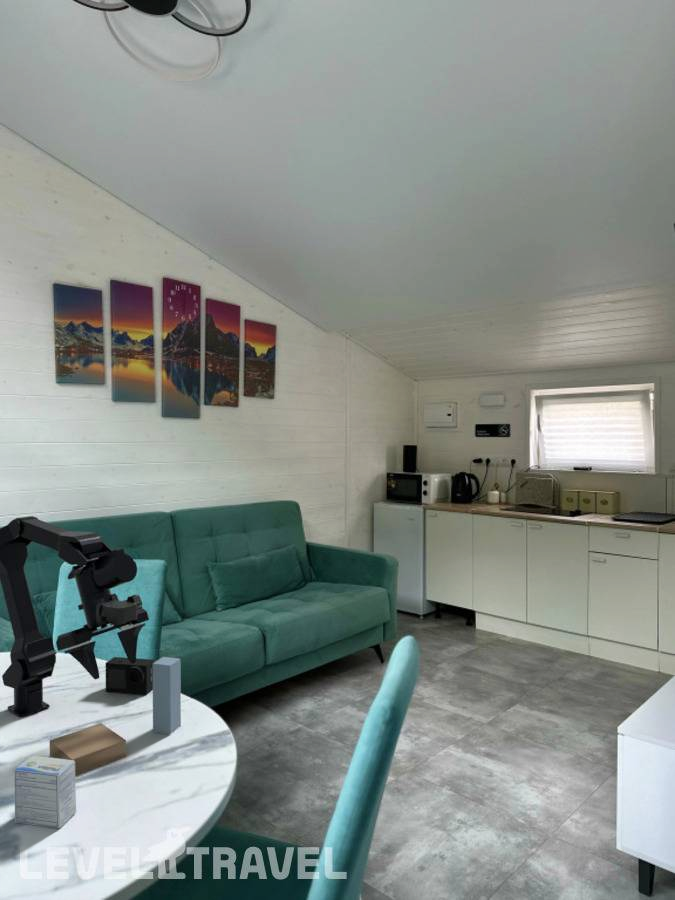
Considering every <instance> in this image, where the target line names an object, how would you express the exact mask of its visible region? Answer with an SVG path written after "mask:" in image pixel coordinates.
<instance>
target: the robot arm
mask: <svg viewBox="0 0 675 900" xmlns="http://www.w3.org/2000/svg"><path fill="white" fill-rule="evenodd" d="M33 543H35V544H37V545H41V546H43V547H46V548H49V549H51V550H53V551H54V552H56V553H57V557H58V558H59V559H61V560H62V561H63V562H65V563H67V564H69V566H72V568H71V571H70V572H69V573H68V575H67V580H73V579H75V583H76V586H77V590H78V593H79V598H80V602H81V603H80V604H78V605H77V607H78V610H79V611H81V610H83V615H84V617H85V621H86V623H85V624H83V626H82V627H80V628H78V629H74V630H71V631H68V632H66V633H62V634H59V635H58V636H57V638H56V642H55V645H56V648H57V651H56V650H55V645H54V639H53V638H52V636H45V635H44V634H43V633H42V632H41V631H40V628H39V625H38V624H39V623H38V621H37V616H36V612H35V608H34V605H33V600H32V597H31V592H30V589H29V584H28V580H27V577H26V573H25V565H26V563H27V559H28V556H29V551H28V548H29V546H30V545H32V544H33ZM137 572H138V565H137V562H136V561H134V559H133V557H132V556H130V555H129V554H127V553H125V550H124V548H123V547H122V548H116V549H112V548H111V547H109V545H108V544H107V543H106V542H105V541H104V540H103V539H102V536H101V535H100V534H99V533H97V532H93V531H73V530H68V529H66V528H63V527H60V526H57V525H55V524H52V523H48V522H46V521H44V520H42V519H39V518H38V517H37V516H33V515H32V516H31V515H30V516H23V517H15V518H14V519H12V520H11V521H10V522H9V523H8V524H6V525H5V526H3V527H1V528H0V585H1V588H2V592H3V596H4V597H3V598H4V601H5V604H6V608H7V613H8V617H9V620H10V626H11V628H12V629H11V630H12V633H13V637H14V641H13V643H12V647H11V650H10V654H9V658H10V664H9V666H8V668H7V669H6V670H5V671H4V672H3V674H2V676H1V677H2V682H3V685H4V686H5V687H7V688H11V689H13V704H12V705H9V706H7V710H8V711H9V712H10V713H11V712H12V713H13V714H14V715H15V716H17V717H19V718H22V717H25V716H28V715H31V714H33V713H34V714H35V713H37V712H41V711H44V710H46V709H50V704H49V703H47V702H46V701H44V691H43V690H44V683H43V681H44V679H46V678H51V677H53V672H54V668H55V664H56V663H57V656H56V655H57V652H60V651H63V650H65V651H64V654H69V655H71V656H72V658H73V659H75V660H76V661H77V662H78V663H79V664H80V665H81V666H82V667H83V668H84V670H86V672H87V673H88V674H89V675H90V676H91V677H92V679H94V680H98V679H100V671H99V667H98V662H97V658H96V655H95V646H96V643H97V642H96V640H93V641H91V640H92V638H94V637H97V636H100V635H101V634H105V633H108V632H110V631H111V632H112V631H114V630H117V629H118V630H120V631H117V632H116V635H117V636H118V639H119V642H120V643H121V646H122V648H123V650H124V652H125V653H124V654H125V657H126V658H128V660H129V661H130V663H131V664H134V663H136V658H137V651H138V650H137V649H138V640H139V639H138V638H139V635H140V634H139V633H141V631H142V629H143V627H145V626H146V623H144V622H147V621H149V620H150V618H149V614H148V611H147V610H146V609H144V608H143V602H142V599H141V596H140V595H139V594H131V595H128V596H127V598H126V599H124V600H119V597H118V595H117V593H111V589H113V588H116V587H119V586H123V585H124V584H127V583H130V582H132V581H133V580H134V579H135V578H136V576H137V574H138V573H137ZM98 628H99V629H98Z"/></svg>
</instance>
